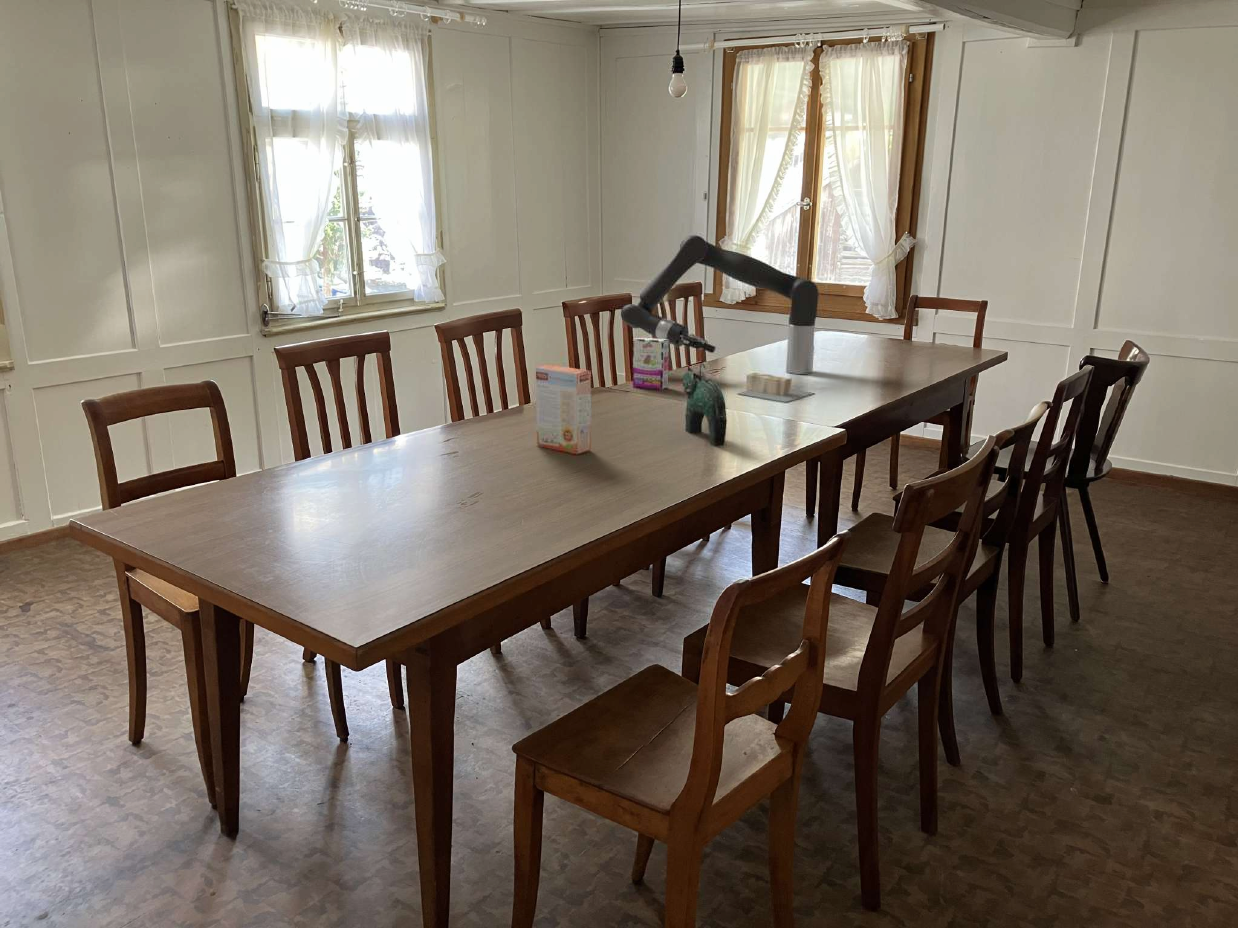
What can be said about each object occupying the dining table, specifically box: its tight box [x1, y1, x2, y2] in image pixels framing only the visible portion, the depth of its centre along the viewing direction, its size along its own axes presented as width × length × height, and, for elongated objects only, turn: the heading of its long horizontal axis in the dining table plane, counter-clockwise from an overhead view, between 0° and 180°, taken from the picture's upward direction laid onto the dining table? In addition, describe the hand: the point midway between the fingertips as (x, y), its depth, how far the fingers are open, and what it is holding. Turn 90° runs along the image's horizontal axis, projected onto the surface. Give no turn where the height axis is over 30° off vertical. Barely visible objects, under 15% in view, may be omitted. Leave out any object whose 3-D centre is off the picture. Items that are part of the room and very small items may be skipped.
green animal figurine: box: [682, 362, 728, 447], centre depth 260 cm, size 20×6×20 cm, turn 21°
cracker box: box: [535, 364, 592, 455], centre depth 247 cm, size 14×6×21 cm, turn 51°
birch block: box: [745, 372, 793, 396], centre depth 317 cm, size 5×5×14 cm
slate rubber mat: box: [737, 388, 816, 404], centre depth 316 cm, size 18×18×1 cm
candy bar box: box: [632, 336, 670, 391], centre depth 322 cm, size 11×5×16 cm, turn 62°
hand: (714, 350), depth 330 cm, fingers closed
